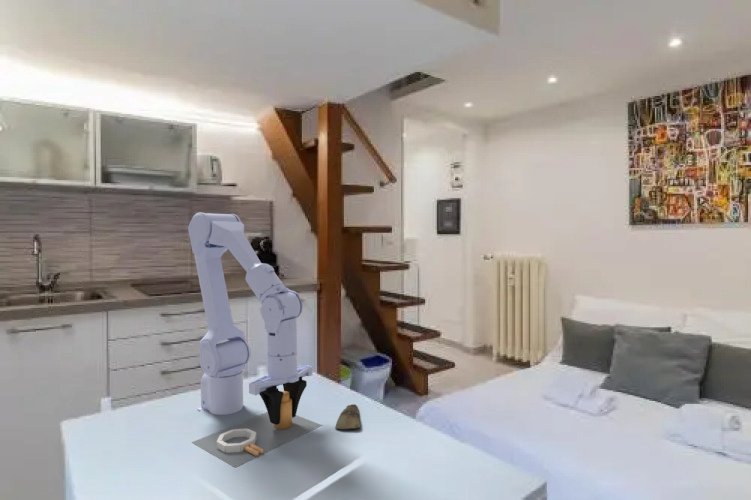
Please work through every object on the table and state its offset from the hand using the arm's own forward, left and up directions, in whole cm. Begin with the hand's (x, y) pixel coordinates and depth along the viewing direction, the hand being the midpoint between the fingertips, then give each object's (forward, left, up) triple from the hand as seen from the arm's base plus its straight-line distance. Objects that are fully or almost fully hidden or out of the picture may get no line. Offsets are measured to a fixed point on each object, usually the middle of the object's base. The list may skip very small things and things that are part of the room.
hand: (283, 419), depth 87 cm
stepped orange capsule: (0, 0, -1) cm, 1 cm away
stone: (+9, +12, -3) cm, 15 cm away
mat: (-1, -5, -2) cm, 6 cm away
